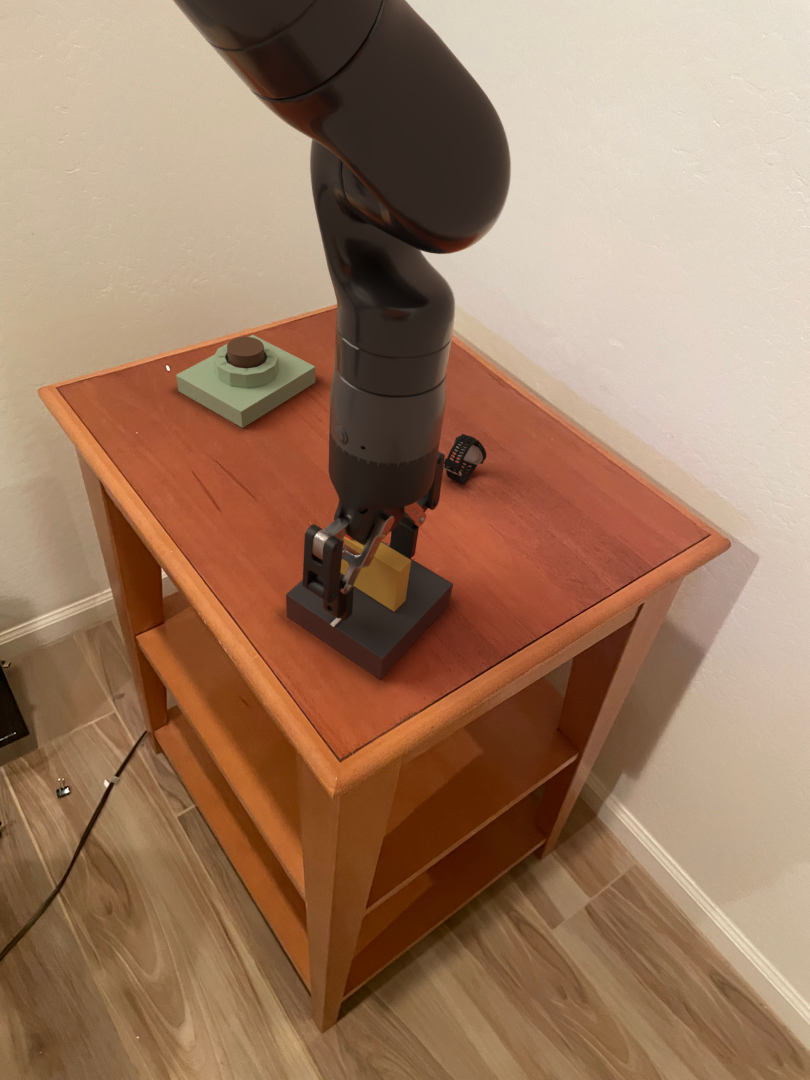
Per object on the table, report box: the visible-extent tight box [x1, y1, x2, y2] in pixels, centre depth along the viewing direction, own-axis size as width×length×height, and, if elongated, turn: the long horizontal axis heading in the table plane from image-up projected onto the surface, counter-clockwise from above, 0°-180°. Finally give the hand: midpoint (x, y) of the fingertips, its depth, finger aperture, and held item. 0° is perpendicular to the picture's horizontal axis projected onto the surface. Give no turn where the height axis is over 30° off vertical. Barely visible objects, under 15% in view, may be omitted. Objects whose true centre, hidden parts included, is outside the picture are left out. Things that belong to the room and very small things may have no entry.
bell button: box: [226, 336, 265, 369], centre depth 81 cm, size 4×4×2 cm
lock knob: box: [340, 535, 411, 612], centre depth 59 cm, size 6×2×5 cm, turn 54°
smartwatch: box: [443, 433, 487, 484], centre depth 75 cm, size 4×5×5 cm
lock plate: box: [285, 540, 454, 681], centre depth 62 cm, size 10×10×3 cm
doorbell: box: [175, 334, 316, 429], centre depth 83 cm, size 12×10×4 cm
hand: (371, 581), depth 61 cm, fingers open, 8 cm apart
